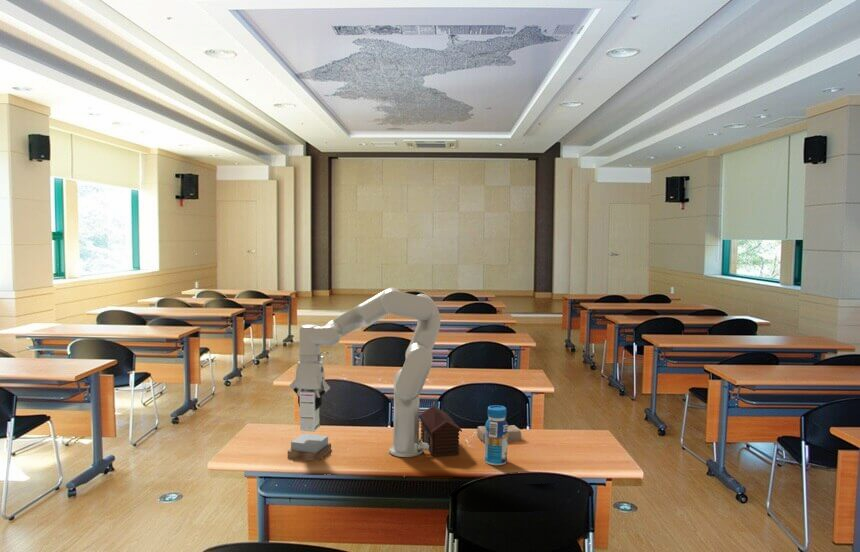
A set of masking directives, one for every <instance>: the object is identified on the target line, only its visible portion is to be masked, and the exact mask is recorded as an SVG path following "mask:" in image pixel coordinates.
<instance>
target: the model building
mask: <svg viewBox="0 0 860 552" xmlns="http://www.w3.org/2000/svg"><path fill="white" fill-rule="evenodd" d="M419 420H420V422H421V423H420V425H421V426H420V439H421V442H422V443H428V445H430V449H429V450H428V451H429V453H430V455H431V456H432V457H449V456H458V455H459V454H460V448H459V447H460V433H459V432H462V431H463V429H462V428H461V427H460V426H459V425H458V424H457V422H455V421H454V420H453V418H451V416H450V415H449V414H448V413H447V412H445V411H444V410H442V409H440V408H439V407H437V406H435V401H433V403H432V406H430V407H428V408H427V409H426V410H424V411H423V412H422V413H419Z"/></svg>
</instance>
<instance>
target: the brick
mask: <svg viewBox="0 0 860 552" xmlns="http://www.w3.org/2000/svg"><path fill="white" fill-rule="evenodd" d="M485 430H486V427H485V425H483V426H482V425H480V426H477V429H476V435H477V437H478V438H479V439H480V441H481V440H482V441H481V442H483V443H485ZM507 431H508V442H516V441H521V440H522V432H521V429H520V428H519V427H517V426H516V425H515V424H513V425H512V424H511V425H508V429H507Z"/></svg>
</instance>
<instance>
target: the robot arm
mask: <svg viewBox="0 0 860 552" xmlns="http://www.w3.org/2000/svg"><path fill="white" fill-rule="evenodd" d="M390 314H391V315H396V316H400V317H404V318H409V319H414V320H417V324H416V327H415V329H414V333H413V335H412V337H411V339H410V342H409V345H408V346H407V348H406V350H405V355H404V356H405V360H404V362H403V366H402V368H400V369H399V370H398V371H397V372H396V373H395V375H394V377H393V438H392V439H393V442H392V443H393V444H392V445H391V446H390V447H389V449H388V451H389V454H391V455H393V456H395V457H399V458H413V457H417V456H420V455H422V454H423V451H429V449H430V445H428V443H424V442H423V441H422V439H421V437H420V418H419V415H420V394H421V393H422V391H423V388H424V385H425V384H426V380H427V379H428V376H429V373H430V371H431V368H432V364H433V354H432V353H433V352H432V351H433V349H434V347H435V343H436V340H437V338H438V335H439V332H440V328H441V315H440V311H439V308H438V306H437V304H436V303H435V301H434V300H433V298H432V297H431V296H430V295H429V294H426V293H419V294H412V293H408V292H403V291H401V290H400V289H398V288H396V287H388V288H386V289H384V290H383V291H381V292H379V293H378V294H376V295H374V296H372V297H370V298H368V299H366V300H365V301H363V302H362V303H359V304H358V305H357V306H355V307H353V308H351V309H350V310H348V311H346V312H344V313H342V314H340V315H338V316H336V318H333V319H332V320H330V321H328V322H327V323H326V324H325V325H323V326H319V325H317V324H311V323H310V324H302V325H300V327H299V331H298V332H299V338H298V339H299V342H298V343H299V358H298V359H299V361H298V362H297V366H296V370H295V379H294V380H292V382H291V383H290V384H289V386H290V388H291V389H292V390H293V392H294V394H296V396H297V404H298V407H299V408H300V392H302V391H303V390H305V389H307V390H315V392H316V395H317V397H316V408H319V407H321V405H322V404H323V403H322V401H323V400H322V397H323V395H324V394H326V393H327V392H328V391H329V390H330V389H331V387H330V385H329V384H328V383H327V382H326V379H325V378H326V377H325V376H326V375H325V368H324V367H325V366H324V363H323V360H324V358H325V357H324V355H321V354H322V353H321V346H325V347H334V346H337V345H338V344H339V343H340V341H341V338H344V336H346V335H348V334H350V333H352V332H353V331H356V330H358V329H360V328H363V327H364V328H365V327H369V326H371V325H374V323H376V322H378V321H380V320H381V319H383V318H385V317H386V316H388V315H390ZM322 388H323V389H322Z"/></svg>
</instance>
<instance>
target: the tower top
mask: <svg viewBox="0 0 860 552" xmlns="http://www.w3.org/2000/svg"><path fill="white" fill-rule="evenodd" d="M328 443H329V436H328V435H321V434H311V433H302V434H301V435H299V436H298V437H296V438H294V439H293V440H292V441H290V449H291V450H295V451H303V452H310V453H317V452H318V451H320V450H321V449H322V448H323V447H325V446H326V445H327V444H328Z"/></svg>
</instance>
